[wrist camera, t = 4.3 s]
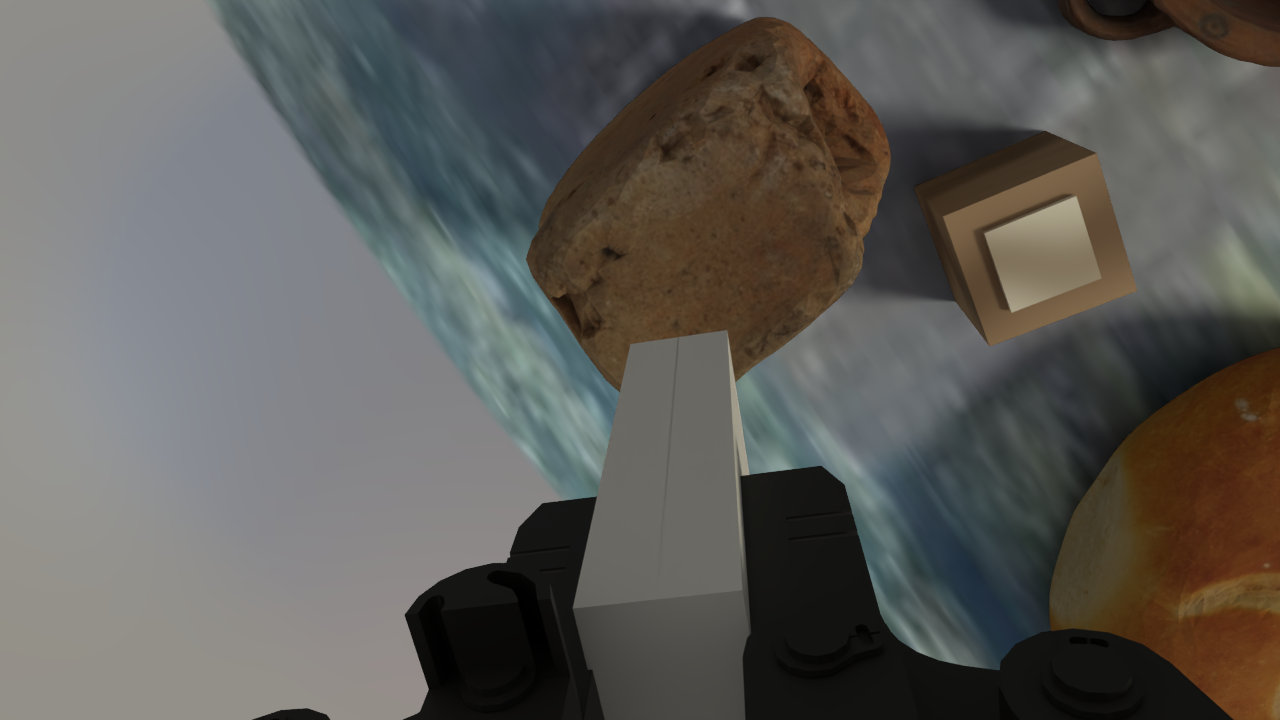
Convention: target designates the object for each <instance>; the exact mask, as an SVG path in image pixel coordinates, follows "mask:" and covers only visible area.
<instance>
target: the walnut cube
mask: <svg viewBox="0 0 1280 720" xmlns="http://www.w3.org/2000/svg"><path fill="white" fill-rule="evenodd" d="M914 189H915V192H916V195H917V197H918V200H919V203H920V206H921V208H922V211H923V214H924V216H925V219H926V222H927V225H928V227H929V230H930V233H931V236H932V238H933V241H934V244H935V246H936V249H937V252H938V255H939V257H940V260H941V263H942V266H943V268H944V271H945V274H946V277H947V279H948V282H949V285H950V287H951V290H952V293H953V296H954V298H955V301H956V303H957V304H958V305H959V307H960V308H961V309H962V311H963V312H964V313H965V315H966V316H967V317H968V318H969V320H970V321H971V322H972V324H973V325H974V326H975V328H976V329H977V330H978V332H979V333H980V334H981V336H982V337H983V338H984V340H985V341H986V342H987V344H988V345H989V346H992V345H995V344H997V343H1000V342H1003V341H1005V340H1008V339H1011V338H1013V337H1016V336H1018V335H1021V334H1024V333H1026V332H1029V331H1032V330H1034V329H1037V328H1040V327H1042V326H1045V325H1048V324H1050V323H1053V322H1056V321H1058V320H1061V319H1064V318H1066V317H1069V316H1072V315H1074V314H1077V313H1080V312H1082V311H1085V310H1088V309H1090V308H1093V307H1096V306H1098V305H1101V304H1103V303H1106V302H1109V301H1111V300H1114V299H1117V298H1119V297H1122V296H1125V295H1127V294H1130V293H1133V292H1135V291H1137V288H1136V285H1135V281H1134V278H1133V275H1132V271H1131V268H1130V264H1129V261H1128V258H1127V254H1126V251H1125V248H1124V244H1123V241H1122V237H1121V234H1120V231H1119V227H1118V224H1117V221H1116V217H1115V214H1114V210H1113V207H1112V204H1111V200H1110V197H1109V194H1108V190H1107V187H1106V183H1105V180H1104V177H1103V173H1102V170H1101V167H1100V163H1099V160H1098V156H1097V153H1095V152H1093V151H1090V150H1088V149H1086V148H1084V147H1081V146H1079V145H1077V144H1074V143H1072V142H1070V141H1067V140H1065V139H1063V138H1060V137H1058V136H1056V135H1054V134H1051V133H1049V132H1047V131H1045V132H1042V133H1040V134H1037V135H1035V136H1033V137H1030V138H1028V139H1026V140H1023V141H1021V142H1019V143H1016V144H1014V145H1012V146H1009V147H1007V148H1004V149H1002V150H1000V151H997V152H995V153H993V154H990V155H988V156H986V157H983V158H981V159H978V160H976V161H974V162H971V163H969V164H967V165H964V166H962V167H960V168H957V169H955V170H953V171H950V172H948V173H945V174H943V175H941V176H938V177H936V178H934V179H931V180H929V181H927V182H924V183H922V184H919V185H917V186H915V187H914Z"/></svg>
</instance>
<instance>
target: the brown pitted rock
mask: <svg viewBox="0 0 1280 720" xmlns="http://www.w3.org/2000/svg"><path fill="white" fill-rule="evenodd" d="M890 161H891V154H890V148H889V143H888V139H887V136H886V134H885V131H884V128H883V126H882V124H881V122H880V120H879V118H878V117H877V115H876V113H875V111H874V110H873V109H872V108H871V106H870V105H869V104H868V103H867V101H866V100H865V99H864V98H863V97H862V95H861V94H860V93H859V92H858V91H857V89H856V88H855V87H854V86H853V85H852V84H851V83H850V81H849V80H848V79H847V78H846V77H845V76H844V75H843V74H842V72H841V71H840V70H839V69H838V68H837V67H836V66H835V64H834V63H833V62H832V61H831V60H830V59H829V58H828V57H827V56H826V55H825V54H824V53H823V52H822V51H821V50H820V49H818V48H817V46H816V45H815V44H814V43H813V42H812V41H811V40H810V39H808V38H807V37H806V36H805V35H804V34H803V33H802V32H801V31H800V30H798V29H797V28H795V27H794V26H792V25H791V24H790V23H788V22H785V21H782V20H780V19H776V18H771V17H759V18H754V19H752V20H750V21H747V22H745V23H743V24H741V25H739V26H737V27H735V28H733V29H731V30H730V31H728V32H726V33H724V34H723V35H721V36H719V37H718V38H716V39H715V40H713V41H711V42H709V43H708V44H706V45H704V46H702V47H701V48H699V49H698V50H696V51H694V52H693V53H691V54H690V55H688V56H687V57H686V58H684V59H683V60H682V61H680V62H679V63H678V64H676V65H675V66H674V67H672V68H671V69H669V70H668V71H667V72H666V73H665V74H663V75H662V76H661V77H660V78H658V79H657V80H656V81H655V82H654V83H652V84H651V85H650V86H649V87H648V88H646V89H645V90H644V91H643V92H642V93H641V94H640V95H639V96H638V97H636V98H635V99H634V100H633V101H632V102H631V103H629V104H628V105H627V106H626V107H625V108H624V109H623V110H622V111H621V112H620V113H619V114H618V115H617V116H616V117H615V118H614V119H613V120H612V121H611V122H610V123H609V124H608V125H607V126H606V127H605V128H604V129H603V130H602V131H601V132H600V133H599V134H598V135H597V136H596V137H595V138H594V139H593V140H592V142H591V143H590V144H589V145H588V146H587V147H586V148H585V149H584V151H583V152H582V153H581V154H580V155H579V157H578V158H577V159H576V160H575V161H574V163H573V164H572V165H571V167H570V168H569V169H568V170H567V171H566V173H565V175H564V176H563V178H562V179H561V180H560V181H559V183H558V184H557V185H556V188H555V190H554V192H553V193H552V194H551V195H550V197H549V199H548V201H547V203H546V205H545V208H544V210H543V212H542V216H541V219H540V223H539V230H538V232H537V234H536V235H535V237H534V238H533V240H532V241H531V245H530V248H529V251H528V254H527V258H526V260H527V263H528V266H529V269H530V271H531V274H532V276H533V278H534V279H535V281H536V282H537V284H538V285H539V286H540V288H541V289H542V291H543V292H544V294H545V295H546V297H547V298H548V299H549V301H550V302H551V304H552V305H553V306H554V307H555V308H556V309H557V311H558V312H559V313H560V315H561V316H562V318H563V320H564V321H565V323H566V324H567V326H568V327H569V329H570V330H571V332H572V333H573V335H574V336H575V338H576V339H577V341H578V343H579V344H580V346H581V347H582V348H583V350H584V351H585V353H586V354H587V355H588V357H589V358H590V360H591V361H592V362H593V364H594V365H595V366H596V368H597V369H598V370H599V371H600V373H601V374H602V375H603V377H604V378H605V379H606V381H608V382H609V383H610V384H611V385H612V386H613V387H614V388H615V389H617V390H618V391H619V392H620V390H621V385H622V381H623V376H624V371H625V367H626V362H627V358H628V353H629V349H630V344H635V343H642V342H648V341H655V340H662V339H669V338H676V337H683V336H690V335H697V334H704V333H711V332H718V331H724V330H727V333H728V339H729V346H730V352H731V359H732V365H733V372H734V378H735V382H736V381H737V380H738V379H740V378H741V377H742V376H743V375H744V374H745V373H746V372H748V371H749V370H750V369H751V368H752V367H754V366H755V365H756V364H758V363H759V362H761V361H762V360H764V359H765V358H767V357H768V356H770V355H771V354H773V353H774V352H775V351H777V350H778V349H780V348H781V347H782V346H784V345H785V344H786V343H787V342H789V341H790V340H791V339H792V338H794V337H795V336H796V335H797V334H799V333H800V332H801V331H803V330H804V329H805V328H806V327H808V326H809V325H810V324H811V323H812V322H813V321H814V320H815V319H816V318H817V317H818V316H820V315H821V314H822V313H823V312H824V311H825V310H827V309H828V308H829V307H830V306H831V305H832V304H833V303H835V302H836V301H837V300H838V299H839V298H840V297H841V296H842V295H843V294H844V293H845V292H846V291H847V290H848V289H849V288H850V287H851V285H852V284H853V282H854V280H855V279H856V277H857V275H858V273H859V272H860V270H861V268H862V262H863V253H864V251H865V249H864V244H863V238H864V237H865V235H866V234H867V233H868V232H869V230H870V226H871V223H872V219H873V218H874V217H875V216H876V214H877V208H878V203H879V201H880V199H881V197H882V190H883V186H884V183H885V181H886V178H887V176H888V172H889V168H890Z"/></svg>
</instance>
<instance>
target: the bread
mask: <svg viewBox="0 0 1280 720" xmlns="http://www.w3.org/2000/svg"><path fill="white" fill-rule="evenodd" d="M1049 618H1050V626H1051V631H1056V630H1064V629H1072V628H1075V629H1084V630H1092V631H1101V632H1109V633H1112V634H1115V635H1118V636H1121V637H1123V638H1126V639H1129V640H1132V641H1135V642H1138V643H1141V644H1143V645H1145V646H1146V647H1148V648H1149V649H1151V650H1152V651H1154V652H1155V653H1157V654H1158V655H1160V656H1161V657H1163V658H1164V659H1166V660H1167V661H1169V662H1170V663H1172V664H1173V665H1174V666H1175V667H1176V668H1177V669H1178V670H1179V671H1180V672H1182V673H1183V674H1184V675H1185V676H1186V677H1187V678H1188V679H1189V680H1190V681H1192V682H1193V683H1194V684H1195V685H1196V686H1197V687H1198V688H1199V689H1200V690H1201V691H1203V692H1204V693H1205V694H1206V695H1207V696H1208V697H1209V698H1210V699H1211V700H1213V701H1214V702H1215V703H1216V704H1217V705H1218V706H1219V707H1220V708H1221V709H1223V710H1224V711H1225V712H1226V713H1227V714H1228V715H1229V716H1230V717H1231V718H1233V719H1234V720H1280V348H1276V349H1272V350H1269V351H1265V352H1262V353H1259V354H1257V355H1254V356H1251V357H1249V358H1246V359H1244V360H1241V361H1239V362H1237V363H1235V364H1233V365H1231V366H1228V367H1226V368H1224V369H1222V370H1220V371H1218V372H1216V373H1214V374H1213V375H1211V376H1209V377H1207V378H1206V379H1204V380H1202V381H1200V382H1199V383H1197V384H1196V385H1194V386H1193V387H1191V388H1190V389H1188V390H1187V391H1185V392H1183V393H1182V394H1180V395H1179V396H1177V397H1176V398H1174V399H1173V400H1172V401H1170V402H1169V403H1167V404H1166V405H1164V406H1163V407H1162V408H1160V409H1159V410H1157V411H1156V412H1155V413H1153V414H1152V415H1151V416H1150V417H1149V418H1147V419H1146V420H1145V421H1144V422H1142V423H1141V424H1140V425H1139V426H1138V427H1137V428H1135V429H1134V430H1133V431H1132V432H1131V433H1130V434H1129V435H1128V436H1127V437H1126V438H1125V439H1124V441H1123V442H1122V443H1121V444H1120V446H1119V447H1118V448H1117V449H1116V451H1115V452H1114V453H1113V455H1112V456H1111V457H1110V459H1109V460H1108V462H1107V463H1106V465H1105V466H1104V468H1103V469H1102V471H1101V472H1100V474H1099V475H1098V476H1097V478H1096V479H1095V481H1094V483H1093V484H1092V485H1091V487H1090V488H1089V490H1088V491H1087V492H1086V494H1085V495H1084V497H1083V498H1082V499H1081V501H1080V503H1079V504H1078V506H1077V507H1076V509H1075V511H1074V513H1073V515H1072V518H1071V520H1070V523H1069V525H1068V528H1067V530H1066V533H1065V536H1064V540H1063V543H1062V546H1061V549H1060V552H1059V556H1058V559H1057V562H1056V565H1055V569H1054V573H1053V577H1052V582H1051V588H1050V599H1049Z"/></svg>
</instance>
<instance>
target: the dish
mask: <svg viewBox="0 0 1280 720" xmlns="http://www.w3.org/2000/svg"><path fill="white" fill-rule="evenodd" d="M1058 7H1059V9H1060V11H1061V14H1062V16H1063V17H1064V18H1065V19H1066V20H1067V21H1068V22H1069V23H1070V24H1071V25H1072V26H1074V27H1075V28H1077V29H1079V30H1081V31H1083V32H1085V33H1087V34H1088V35H1091V36H1094V37H1097V38H1101V39H1105V40H1113V41H1116V40H1128V39H1134V38H1138V37H1142V36H1145V35H1149V34H1152V33H1156V32H1159V31H1162V30H1165V29H1169V28H1172V27H1175V26H1176V27H1177V28H1179V29H1181V30H1183V31H1184V32H1186V33H1188V34H1189V35H1191V36H1193V37H1194V38H1196V39H1197V40H1199V41H1200V42H1201V43H1203V44H1204V45H1206V46H1207V47H1209V48H1211V49H1213V50H1214V51H1216V52H1218V53H1221V54H1223V55H1225V56H1228V57H1231V58H1234V59H1237V60H1240V61H1245V62H1251V63H1255V64H1259V65H1263V66H1270V67H1280V0H1146V2H1145V4H1144V6H1143V7H1142V8H1141V9H1140V10H1139V11H1137V12H1135V13H1133V14H1130V15H1125V16H1107V15H1101V14H1100V13H1098V12H1097V11H1096V10H1095V9H1094V8H1093V7H1092V6H1091V5H1090V4H1089V2H1088V0H1058Z"/></svg>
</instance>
